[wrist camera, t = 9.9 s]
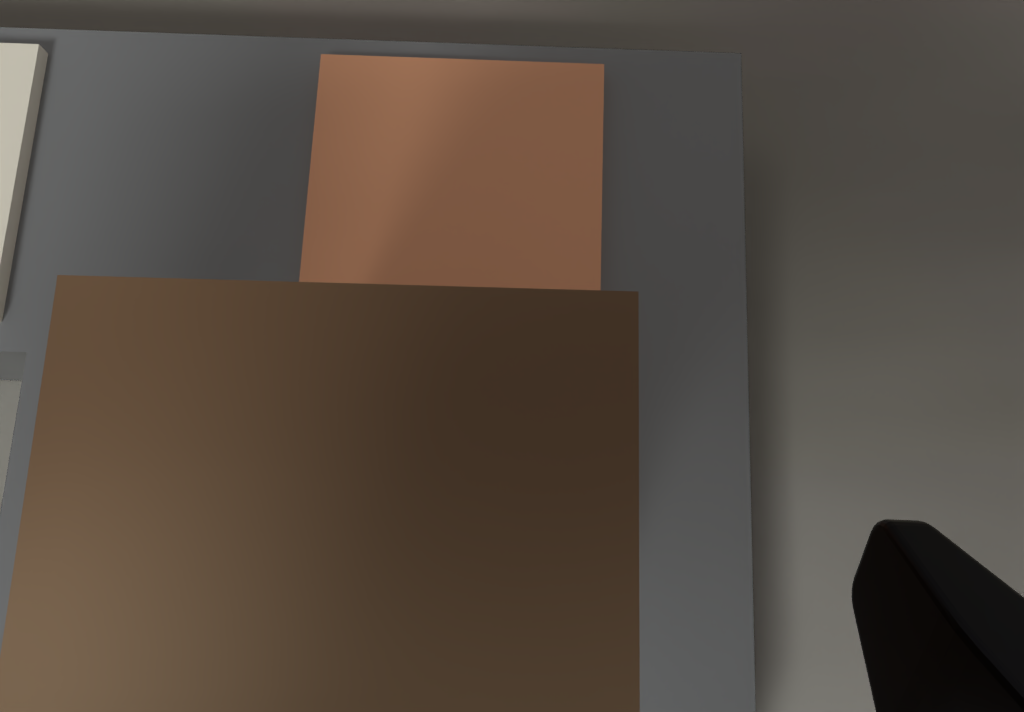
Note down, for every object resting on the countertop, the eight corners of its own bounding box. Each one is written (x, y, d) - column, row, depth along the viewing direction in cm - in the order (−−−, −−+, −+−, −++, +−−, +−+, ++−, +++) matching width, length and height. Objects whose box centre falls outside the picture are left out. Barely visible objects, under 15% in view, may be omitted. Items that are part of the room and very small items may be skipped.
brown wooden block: (550, 659, 16) (640, 948, 5) (339, 653, 16) (-41, 925, 5) (554, 448, 16) (638, 290, 6) (354, 442, 16) (57, 274, 6)
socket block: (711, 844, 15) (765, 930, 12) (-386, 798, 15) (-631, 872, 12) (703, 131, 18) (745, 43, 15) (-215, 99, 18) (-375, 4, 15)
